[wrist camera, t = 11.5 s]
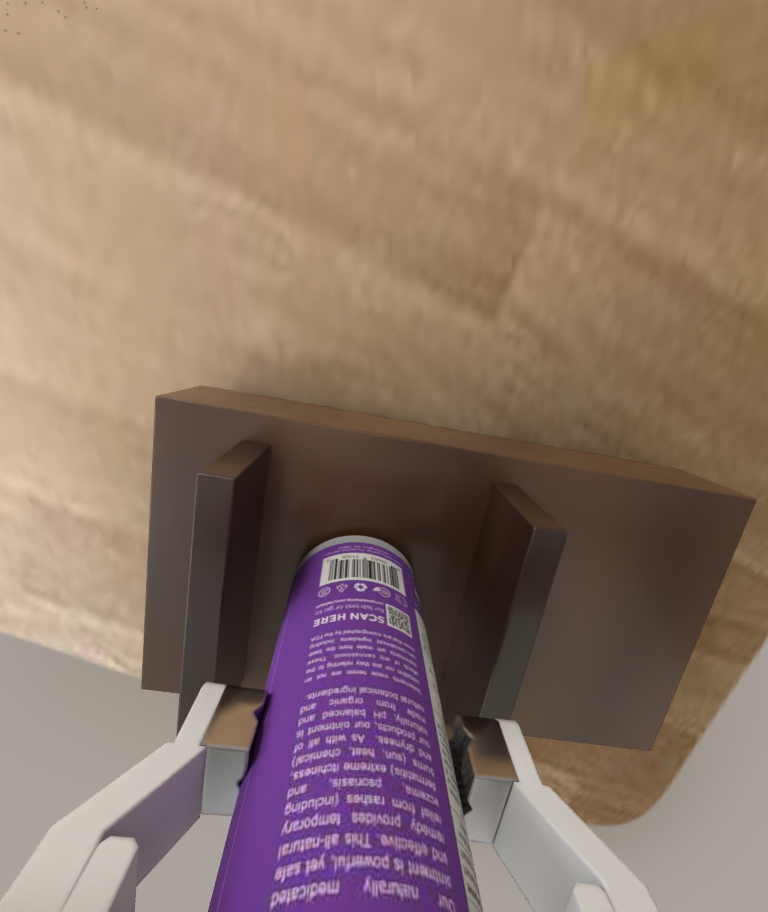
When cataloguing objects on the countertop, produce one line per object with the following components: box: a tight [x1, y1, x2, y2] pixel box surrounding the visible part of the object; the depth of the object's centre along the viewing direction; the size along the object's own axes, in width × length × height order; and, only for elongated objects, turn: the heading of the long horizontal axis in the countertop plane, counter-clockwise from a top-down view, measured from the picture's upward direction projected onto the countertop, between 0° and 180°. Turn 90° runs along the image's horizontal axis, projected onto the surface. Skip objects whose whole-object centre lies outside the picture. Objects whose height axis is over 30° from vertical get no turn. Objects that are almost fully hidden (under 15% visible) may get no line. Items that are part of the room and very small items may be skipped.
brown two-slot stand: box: [141, 386, 756, 751], centre depth 16 cm, size 22×12×8 cm, turn 80°
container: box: [208, 535, 483, 912], centre depth 9 cm, size 5×5×15 cm
